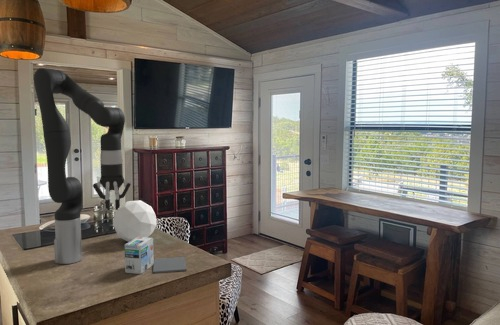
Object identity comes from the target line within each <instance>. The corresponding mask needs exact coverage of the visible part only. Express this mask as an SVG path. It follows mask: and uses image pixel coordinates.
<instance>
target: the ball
mask: <svg viewBox="0 0 500 325" xmlns="http://www.w3.org/2000/svg"><path fill="white" fill-rule="evenodd" d="M112 225H113V227H114V230H115V233H116V234H117V237H118V238H120V239H122V240H124V241H126V242H127V243H128V242H130V241H132V240H133V239H135V238H137V237H147V238H150V236H151V235H152V234H153V233H154V232H155V230H156V227H157V216H156V213H155V211H154V209H153V207H152V206H151V205H149V204H147V203H146V202H144V201H143V200H140V199H139V200H129V201H128V200H127V201H126V202H124V203H123V204H122V205H120V207H119V208H118V210H115V213H114V216H113V221H112Z"/></svg>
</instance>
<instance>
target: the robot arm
mask: <svg viewBox="0 0 500 325" xmlns="http://www.w3.org/2000/svg"><path fill="white" fill-rule="evenodd" d="M33 76H34V77H33V83H34V89H35V92H36V98H37V101H38V105H39V111H40V116H41V122H42V123H41V125H42V134H43V140H44V146H45V154H46V155H45V156H46V164H47V189H48V194H49V197H50V199H51V200H52V201H53V202H54V203H57V204H61V205H60V206H59V207H58V209H57V210H55V212H54V232H55V234H54V235H55V238H54V240H53V248H54V264H60V265H67V264H68V265H70V264H76V263H78V262H80V261H82V260H83V253H82V252H83V251H82V248H83V246H82V229H81V228H82V227H81V226H82V225H81V213H82V210H83V186H82V183H81V182H80V180H79V179H78V178H77V177H75V176H68V177H67V175H66V174H67V173H66V164H67V163H66V162H67V159H68V156H69V154H70V150H71V146H72V138H71V132H70V131H71V130H70V126H69V124H68V123H67V121H66V119H65V118H64V116H63V114H61V112H60V110H59V109H58V106H56V105H57V104H56V103H55V98H54V94H56V95H57V94H61V95H65V96H66V97H69V98H70V99H71V100H72V103H73V104H74V106H75V107H76V108H77V109H79V110H80V111H82V112H83V113H85V114H86V115H88V116H89V117H90V119H92V121H93V122H94V123H96V125H99V126H101V127H104V128H107V127H108V130H107V132H106V133H103V134H101V135H100V141H99V142H100V154H99V155H100V157H99V160H100V162H99V163H100V179H99V181H97V182H94V183H93V184H92V187H93V189H94V190H95V192H96V194H97V196H98V197H99V199H101V200H104V201H105V209H107V211H111V199H110V195H111V191H114V195H115V196H114V197H115V200H114V203H115V204H114V206H115V211H116V210H118V209H119V208H120V207H121V200H120V199H123V198H125V196H126V195H127V193H128V191H129V188H130V187H131V185H132V184H131V182H128V181H126V180H125V178H124V175H123V173H124V172H123V165H124V164H123V161H124V160H123V152H122V137H123V132H124V128H125V124H126V116H125V113H124V111H123V110H122V109H121V108H119V107H113V106H112V107H111V106H105V103H104V102H103V101H102V100H101V99H100V98H98V97H97V96H95V95H94V94H92V93H90V92H89V91H87V90H86V89H84V88H83V87H82V86H80V85H79V84H78V83H77V82H76V81H74V79H73V78H72V77H70V75H68V74H67V73H66V72H64V71H63V70H59V69H56V68H55V69H54V68H44V67H40V68H37V69H36V70H35V72H34V75H33ZM122 186H123V187H124V189H123V191H122V193H120V188H121V187H122ZM101 187H103V189H105V190H104V191H105V193H104V192H103V190H102V189H101Z"/></svg>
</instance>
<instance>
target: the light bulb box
mask: <svg viewBox="0 0 500 325" xmlns="http://www.w3.org/2000/svg"><path fill="white" fill-rule="evenodd" d="M154 259H155V258H154V237H137V238H135V239H133V240H132V241H130V242H127V243H125V244H124V264H125V265H124V270H125V273H127V274H137V275H142V274H143V273H145V272H147V270H149V269H150V268H151V267H154Z"/></svg>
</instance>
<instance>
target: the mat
mask: <svg viewBox="0 0 500 325" xmlns="http://www.w3.org/2000/svg"><path fill="white" fill-rule="evenodd" d="M152 267H153V268H152V274H161V273H175V272H176V273H177V272H186V271H187V263H186V258H185V256H176V257H175V256H174V257H162V258H161V257H160V258H154V265H153V266H152Z"/></svg>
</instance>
